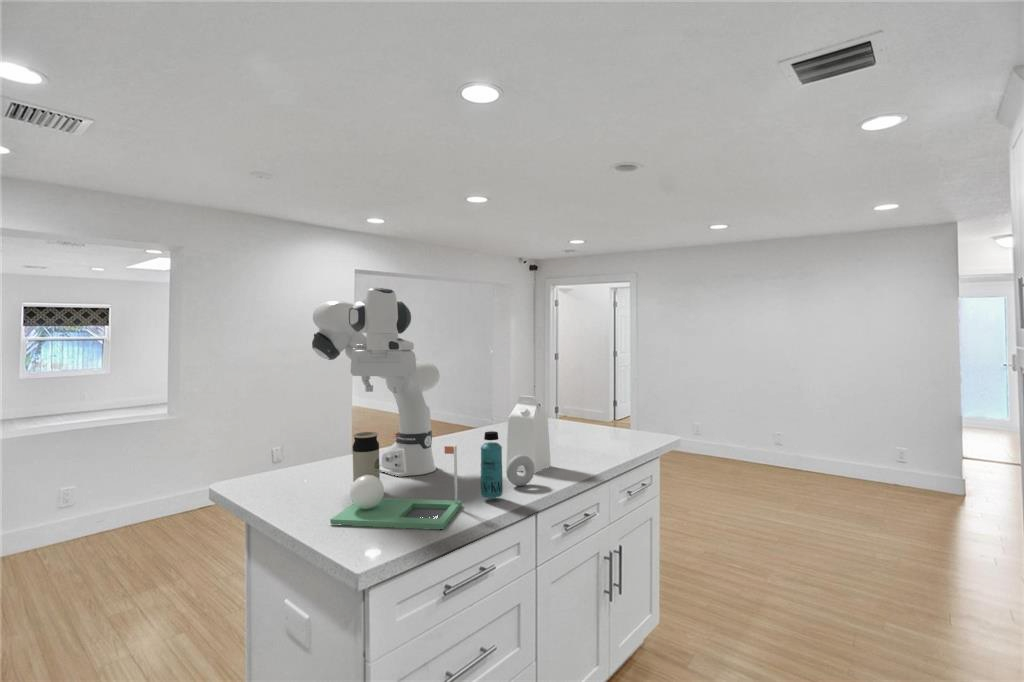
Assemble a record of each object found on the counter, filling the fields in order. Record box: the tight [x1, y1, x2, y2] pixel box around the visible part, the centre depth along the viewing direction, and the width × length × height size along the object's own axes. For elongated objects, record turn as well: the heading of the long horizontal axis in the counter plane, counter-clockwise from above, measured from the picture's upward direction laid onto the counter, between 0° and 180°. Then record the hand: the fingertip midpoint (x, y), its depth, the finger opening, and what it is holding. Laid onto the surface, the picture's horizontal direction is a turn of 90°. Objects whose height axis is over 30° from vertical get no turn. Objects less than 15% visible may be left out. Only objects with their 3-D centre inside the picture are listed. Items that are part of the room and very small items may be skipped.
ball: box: [349, 475, 385, 509], centre depth 138 cm, size 9×9×9 cm
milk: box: [506, 395, 552, 474], centre depth 184 cm, size 12×12×26 cm
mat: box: [330, 445, 463, 531], centre depth 137 cm, size 30×18×18 cm, turn 81°
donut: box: [505, 455, 535, 487], centre depth 162 cm, size 10×4×10 cm, turn 119°
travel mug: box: [352, 431, 381, 484], centre depth 159 cm, size 8×8×18 cm
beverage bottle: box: [480, 430, 504, 499], centre depth 148 cm, size 6×7×20 cm
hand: (383, 392), depth 145 cm, fingers open, 8 cm apart
